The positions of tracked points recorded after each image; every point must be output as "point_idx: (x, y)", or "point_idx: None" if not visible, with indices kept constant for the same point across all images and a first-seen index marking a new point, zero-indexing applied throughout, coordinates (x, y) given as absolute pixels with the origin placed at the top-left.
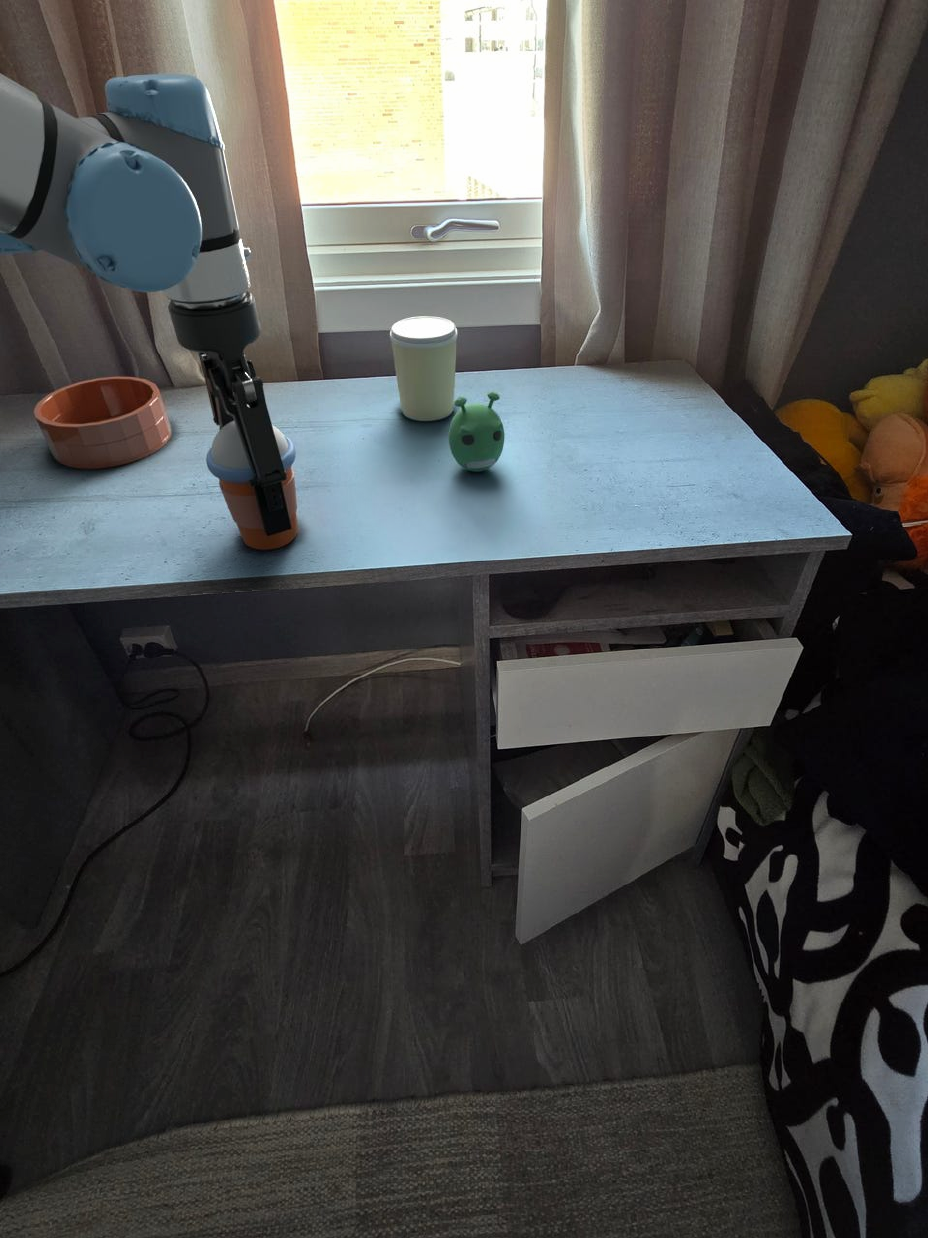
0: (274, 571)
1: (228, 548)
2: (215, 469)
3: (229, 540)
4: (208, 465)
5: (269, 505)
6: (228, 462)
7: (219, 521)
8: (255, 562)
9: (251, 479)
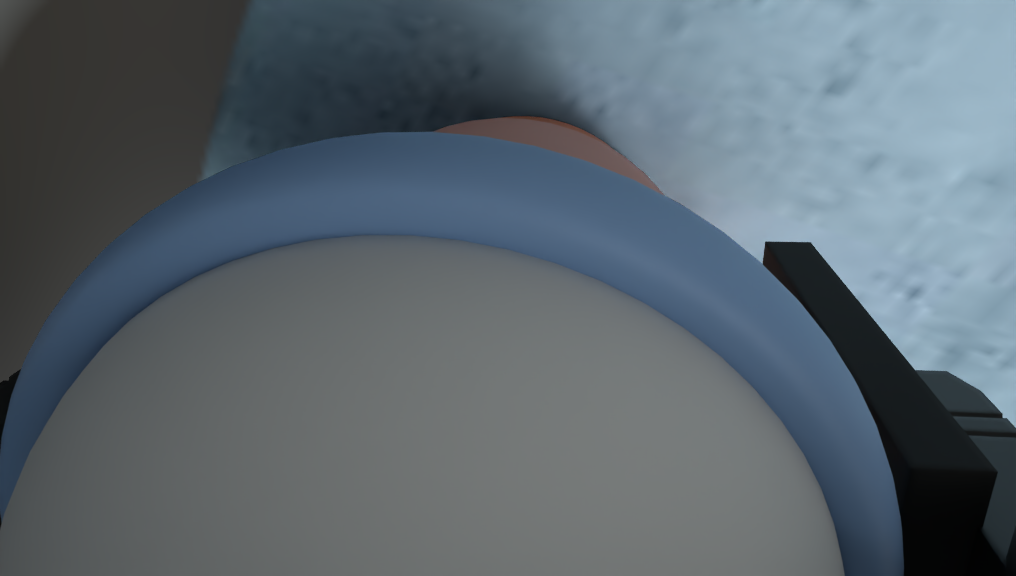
0: (233, 165)
1: (523, 23)
2: (203, 196)
3: (595, 50)
4: (364, 150)
5: (17, 374)
6: (82, 378)
7: (819, 54)
8: (337, 111)
9: (4, 424)
